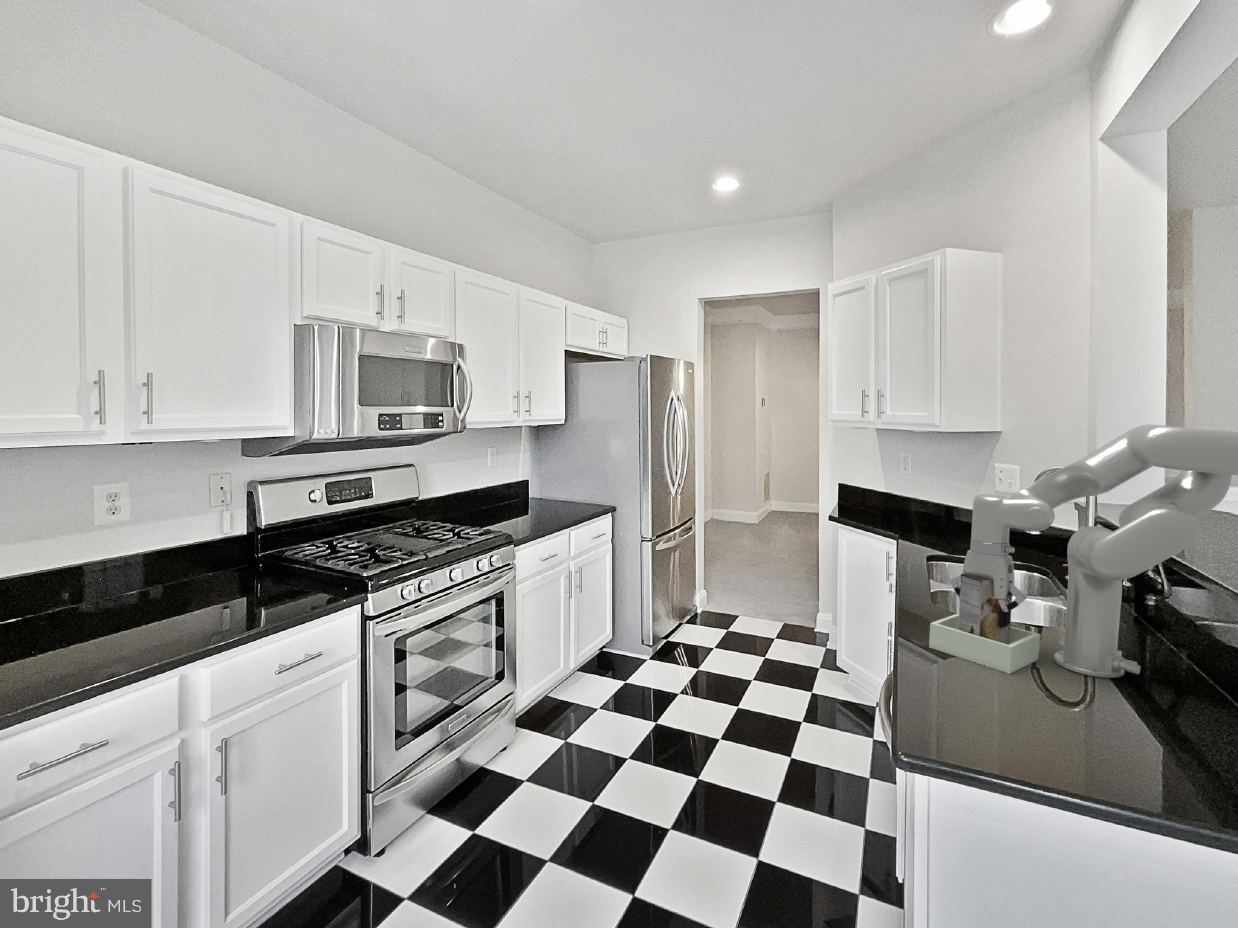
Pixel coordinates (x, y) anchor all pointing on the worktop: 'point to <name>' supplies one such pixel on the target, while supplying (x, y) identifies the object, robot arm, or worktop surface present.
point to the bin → (985, 645)
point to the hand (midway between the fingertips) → (984, 621)
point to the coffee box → (981, 609)
